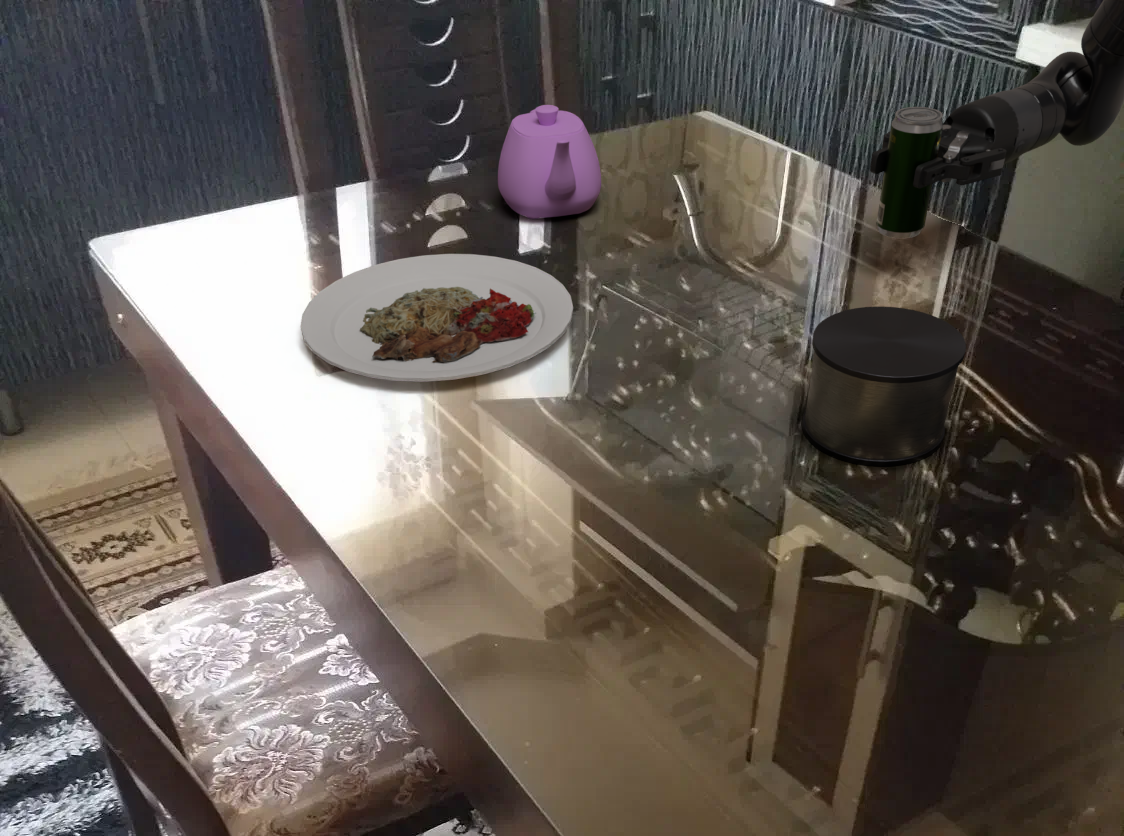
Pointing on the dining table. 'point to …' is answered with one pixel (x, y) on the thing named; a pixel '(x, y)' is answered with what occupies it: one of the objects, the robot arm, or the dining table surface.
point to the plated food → (436, 317)
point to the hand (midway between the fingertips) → (895, 170)
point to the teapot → (548, 165)
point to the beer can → (908, 171)
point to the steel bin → (881, 385)
